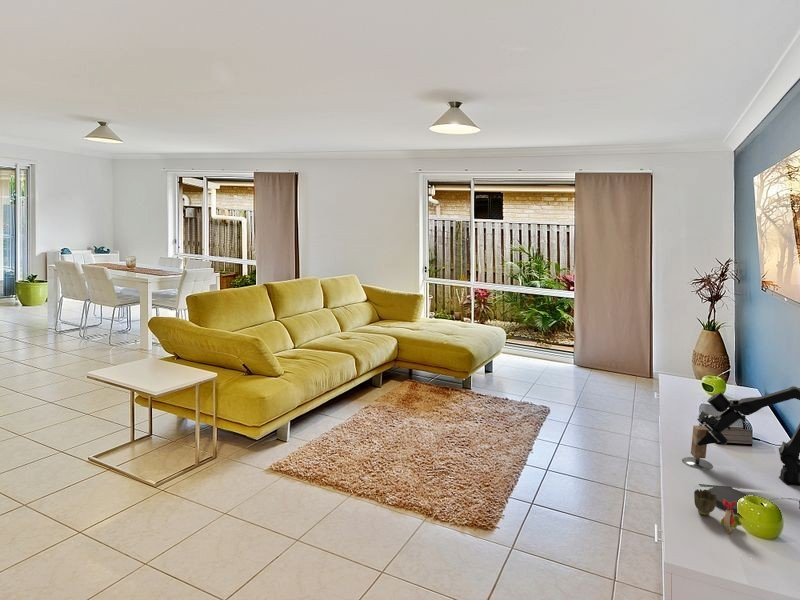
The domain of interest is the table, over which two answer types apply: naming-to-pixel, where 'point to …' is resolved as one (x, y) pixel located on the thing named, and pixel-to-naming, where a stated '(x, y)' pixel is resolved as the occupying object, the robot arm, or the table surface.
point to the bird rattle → (730, 517)
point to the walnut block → (696, 437)
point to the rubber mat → (712, 486)
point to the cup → (704, 501)
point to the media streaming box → (726, 496)
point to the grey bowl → (697, 463)
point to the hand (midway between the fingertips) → (695, 442)
